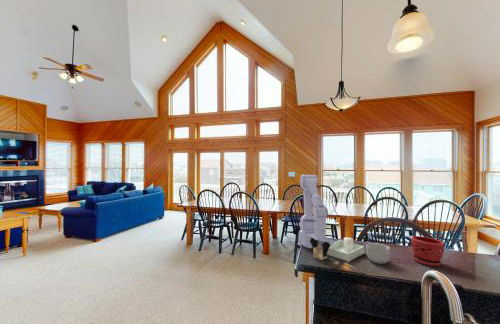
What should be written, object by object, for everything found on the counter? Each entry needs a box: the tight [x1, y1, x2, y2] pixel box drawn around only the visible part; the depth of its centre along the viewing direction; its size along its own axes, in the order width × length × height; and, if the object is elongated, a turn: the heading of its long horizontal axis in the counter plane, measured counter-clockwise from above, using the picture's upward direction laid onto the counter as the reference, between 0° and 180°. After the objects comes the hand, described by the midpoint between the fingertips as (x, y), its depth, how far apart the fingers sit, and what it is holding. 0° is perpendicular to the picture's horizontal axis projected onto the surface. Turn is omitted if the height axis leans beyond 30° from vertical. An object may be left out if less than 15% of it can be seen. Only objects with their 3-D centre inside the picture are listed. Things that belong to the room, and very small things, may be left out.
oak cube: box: [312, 245, 328, 261], centre depth 116 cm, size 5×5×5 cm
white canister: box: [343, 236, 354, 252], centre depth 126 cm, size 5×5×7 cm
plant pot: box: [410, 235, 445, 267], centre depth 112 cm, size 13×13×12 cm
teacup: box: [365, 242, 391, 265], centre depth 114 cm, size 14×11×8 cm
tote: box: [327, 239, 365, 263], centre depth 123 cm, size 14×19×4 cm
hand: (320, 254), depth 116 cm, fingers open, 5 cm apart
